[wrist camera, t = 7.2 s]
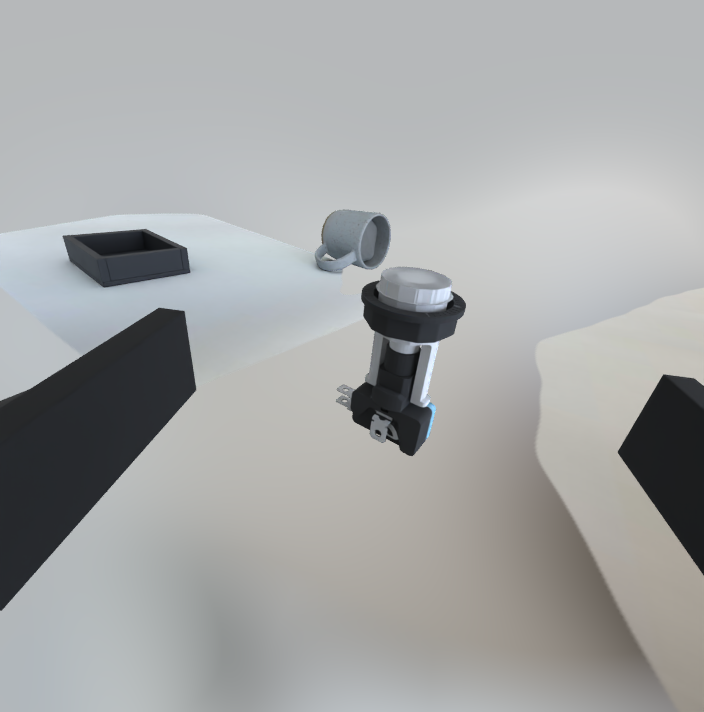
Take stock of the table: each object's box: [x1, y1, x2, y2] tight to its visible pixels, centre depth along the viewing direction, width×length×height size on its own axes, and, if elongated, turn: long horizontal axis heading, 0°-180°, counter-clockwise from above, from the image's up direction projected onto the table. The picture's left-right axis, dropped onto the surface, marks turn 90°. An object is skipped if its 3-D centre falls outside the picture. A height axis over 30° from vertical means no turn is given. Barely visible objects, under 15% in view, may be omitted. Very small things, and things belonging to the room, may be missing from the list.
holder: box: [63, 229, 190, 287], centre depth 45 cm, size 10×12×3 cm
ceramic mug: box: [315, 210, 391, 271], centre depth 53 cm, size 11×8×8 cm
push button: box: [336, 267, 466, 456], centre depth 21 cm, size 7×5×10 cm
